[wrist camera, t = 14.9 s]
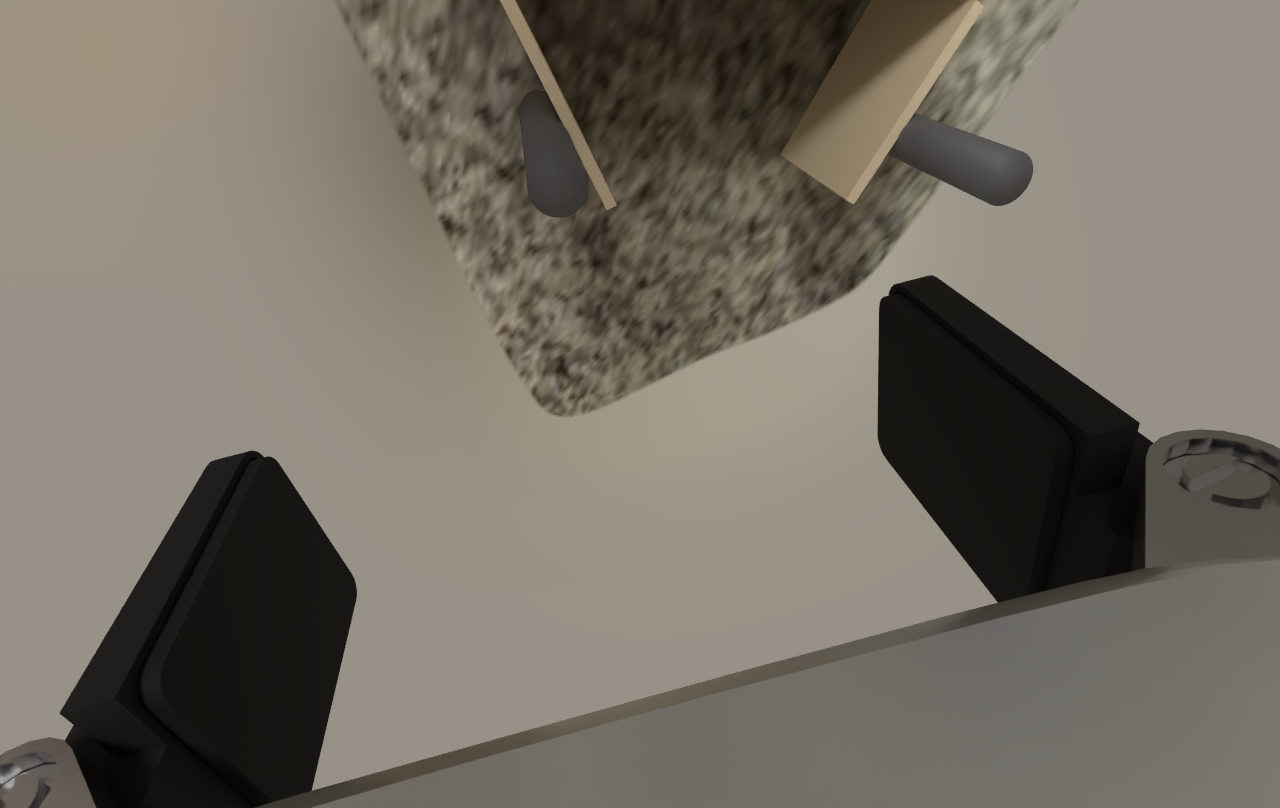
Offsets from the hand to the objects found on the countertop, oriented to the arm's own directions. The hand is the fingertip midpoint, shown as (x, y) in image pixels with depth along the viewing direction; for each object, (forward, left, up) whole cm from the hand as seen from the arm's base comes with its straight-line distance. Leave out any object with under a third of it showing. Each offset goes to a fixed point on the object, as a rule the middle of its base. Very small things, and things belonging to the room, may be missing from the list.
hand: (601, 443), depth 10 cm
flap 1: (-1, 0, -30) cm, 30 cm away
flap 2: (-1, +17, -30) cm, 34 cm away
